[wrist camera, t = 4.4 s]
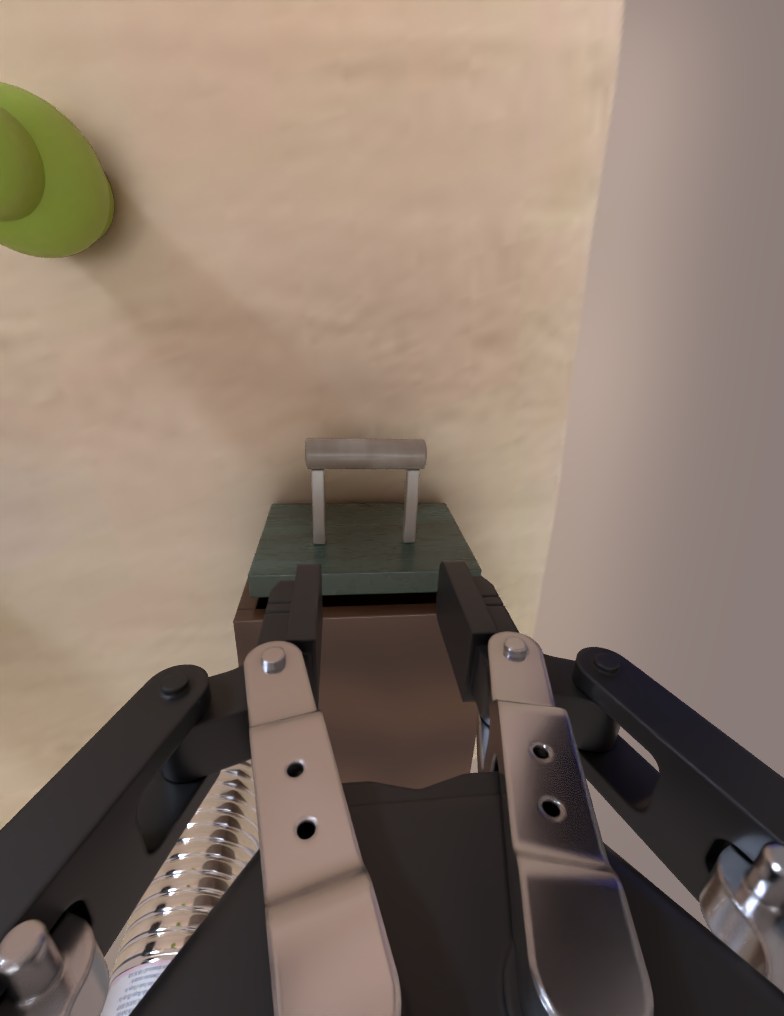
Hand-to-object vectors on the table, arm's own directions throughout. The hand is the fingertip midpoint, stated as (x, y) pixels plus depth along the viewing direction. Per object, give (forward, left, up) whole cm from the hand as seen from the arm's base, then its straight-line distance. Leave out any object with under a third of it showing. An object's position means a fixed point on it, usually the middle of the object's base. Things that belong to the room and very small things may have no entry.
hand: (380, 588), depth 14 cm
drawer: (+6, -5, -13) cm, 15 cm away
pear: (-18, -2, -14) cm, 23 cm away
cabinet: (+10, -8, -14) cm, 19 cm away
